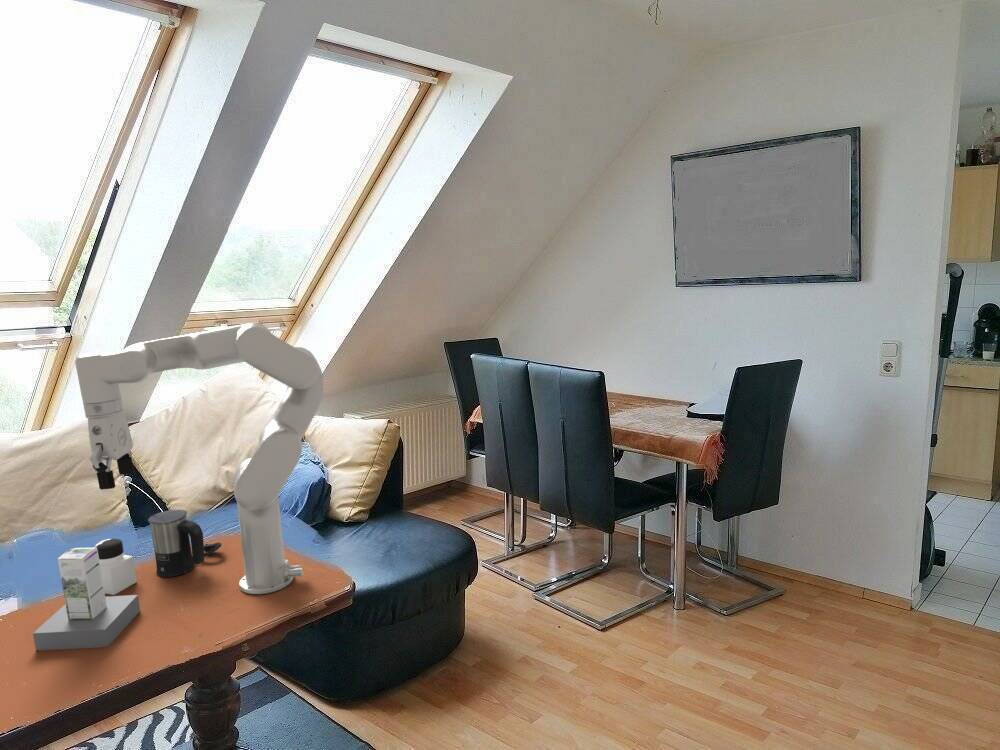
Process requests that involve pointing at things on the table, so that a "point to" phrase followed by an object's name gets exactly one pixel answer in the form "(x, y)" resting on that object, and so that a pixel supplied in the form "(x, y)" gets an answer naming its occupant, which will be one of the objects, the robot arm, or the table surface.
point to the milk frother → (177, 543)
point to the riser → (87, 626)
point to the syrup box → (82, 583)
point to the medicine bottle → (115, 566)
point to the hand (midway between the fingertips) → (117, 481)
